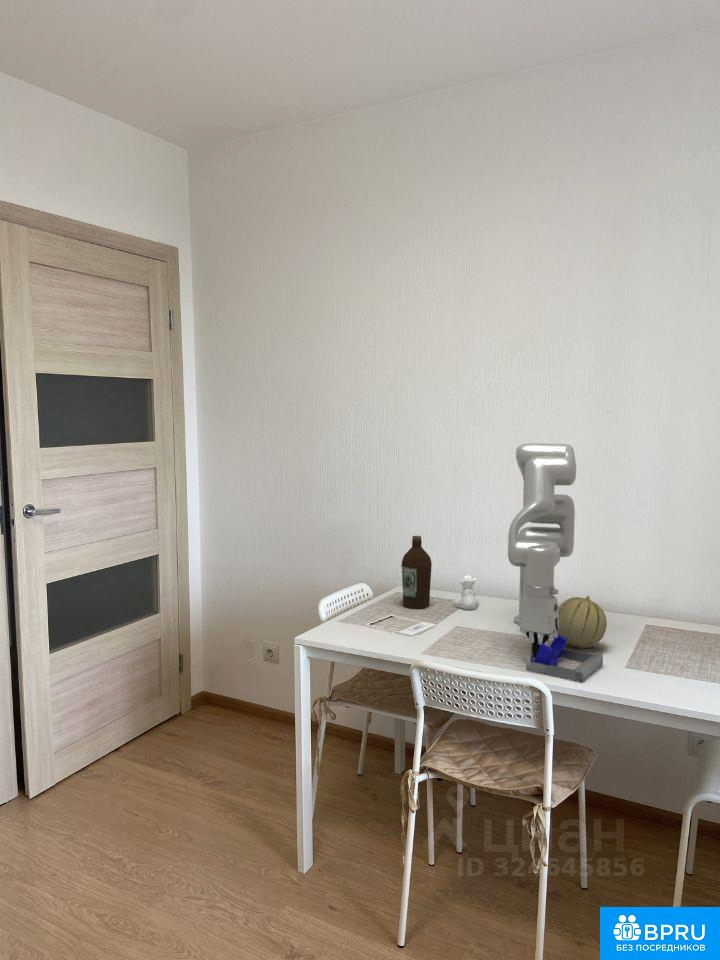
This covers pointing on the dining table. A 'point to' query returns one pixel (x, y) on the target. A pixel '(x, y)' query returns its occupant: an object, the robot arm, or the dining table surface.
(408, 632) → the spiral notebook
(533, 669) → the frame
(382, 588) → the dining table surface
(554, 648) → the cable clip
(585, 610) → the cantaloupe
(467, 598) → the sitting furry creature
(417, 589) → the olive oil
